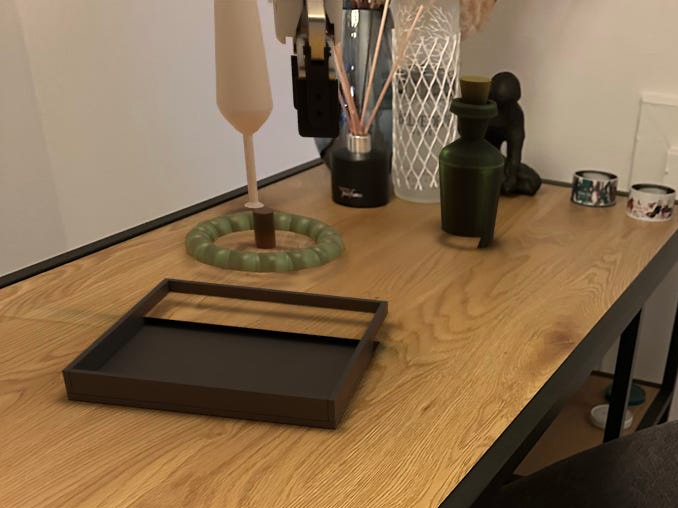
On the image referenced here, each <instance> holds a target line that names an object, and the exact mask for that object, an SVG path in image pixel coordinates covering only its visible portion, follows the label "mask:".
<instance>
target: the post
mask: <svg viewBox="0 0 678 508" xmlns="http://www.w3.org/2000/svg"><path fill="white" fill-rule="evenodd" d="M251 212H252V214H253V225H254V230H253V235H254V236H253V237H254V246H255V248H257V249H260V250H271V249H274V248H276V247H277V236H276V235H277V234H276V230H275V221H274V212H275V210H274V209H272V208H269V207H260V208H252V211H251Z"/></svg>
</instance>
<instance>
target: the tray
mask: <svg viewBox="0 0 678 508" xmlns="http://www.w3.org/2000/svg"><path fill="white" fill-rule="evenodd" d="M169 293H179V294H187V295H199V296H208V297H209V296H210V297H218V298H227V299H237V300H246V301H254V302H255V301H256V302H264V303H265V302H266V303H275V304H284V305H293V306H294V305H295V306H304V307H312V308H321V309H322V308H323V309H331V310H333V309H334V310H341V311H342V310H343V311H349V312H350V311H352V312H361V313H369V314H370V313H371V314H374V315H373V317H372V318H371V320H370V322H369V324H368V325H367V328H366V329H365V331H364V333H363V335H362V336H361V339H360V338H359V339H358V338H349V337H339V336H331V335H321V334H311V333H304V332H303V333H302V332H292V331H284V330H273V329H266V328H264V329H263V328H255V327H247V326H237V325H226V324H218V323H209V322H208V323H207V322H198V321H191V320H190V321H189V320H181V319H170V318H162V317H161V318H160V317H153V316H151V317H150V316H146V315H147V314H148V313H150V311H151V310H152V309H153V308H154V307H155V306H157V305H158V304H159V303H160V302H161V301H162V300H163V299H164V298H165V297H166V296H168V295H169ZM388 313H389V301H388V300H379V299H370V298H360V297H351V296H342V295H341V296H340V295H333V294H322V293H313V292H302V291H293V290H284V289H275V288H265V287H256V286H245V285H236V284H226V283H217V282H207V281H198V280H188V279H179V278H168V277H164V278H163V279H162V280H161V281H160V282H158V283H157V285H155V286H154V287H153V288H152V289H151V290H150V291H149V292H148V293H147V294H145V295H144V296H143V297H142V298H141V299H140V300H139V301H138V302H136V304H134V305H133V306H131V308H130V309H129V310H128V311H126V312H125V313H123V315H122V316H121V317H120V318H119V319H117V321H115V322H114V323H113V324H112V325H111V326H110V327H109V328H107V329H106V330H105V331H104V332H103V333H102V334H101V335H99V337H98V338H96V339H95V340H94V341H93V342H92V343H91V344H89V345H88V346H87V347H86V348H85V349H84V350H83V351H82V352H80V353H79V355H77V356H76V357H75V358H74V359H73V360H72V361H71V362H70V363H69V364H67V365H66V366H65V367H64V368H63V369H62V370H61V373H62V378H63V383H64V386H65V387H64V388H65V391H66V395H67V399H68V400H72V401H82V402H91V403H101V404H109V405H115V406H116V405H117V406H127V407H136V408H145V409H153V410H161V411H162V410H163V411H170V412H181V413H190V414H197V415H206V416H207V415H208V416H214V417H215V416H216V417H217V416H218V417H225V418H235V419H243V420H251V421H263V422H272V423H279V424H288V425H297V426H305V427H306V426H308V427H316V428H324V429H335V430H336V429H337V427H338V425H339V423H340V422H341V419H342V417H343V415H344V413H345V411H346V409H347V408H348V405H349V403H350V401H351V399H352V397H353V396H354V393H355V391H356V390H357V387H358V386H359V384H360V381H361V380H362V378H363V376H364V374H365V372H366V370H367V368H368V366H369V364H370V362H371V360H372V358H373V356H374V354H375V352H376V350H377V349H378V346H379V344H380V341H378V340H375V338H376V336H377V335H378V333H379V330H380V329H381V327H382V324H383V323H384V321H385V319H386V318H387V315H388Z"/></svg>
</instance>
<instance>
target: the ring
mask: <svg viewBox="0 0 678 508" xmlns="http://www.w3.org/2000/svg"><path fill="white" fill-rule="evenodd" d="M274 221H275V231H282V232H290V233H295V234H299V235H303V236H306V237H307V238H309V239H311V240H313V241H315V242H316V244H313V245H310V246H308V247H306V248H300V249H294V250H288V251H275V252H273V251H272V252H271V251H270V252H269V251H268V252H267V251H266V252H257V251H245V250H238V249H237V250H236V249H231V248H228V247H227V248H226V247H223V246H220V245H217V244H215V242H216V241H217V240H218V239H219V238H221V237H225V236H227V235H230V234H233V233H239V232H246V231H254V225H253V214H252V211H243V212H236V213H230V214H223V215H222V214H221V215H218V216H214V217H211V218H209V219H206V220H203V221H199V223H197V224H196V225H195V226H194V227H193V228H191V229H190V230H189V231H188V232H187V233H186V235H185V237H184V245H185V251H186V254H187V255H189V257H190V256H191V257H192V258H193V259H195V260H196V261H198V262H200V263H201V264H206V265H209V266H212V267H215V268H219V269H222V270H227V271H239V272H246V273H247V272H248V273H257V274H259V273H260V274H261V273H287V272H296V271H303V270H309V269H312V268H318V267H322V266H324V265H326V264H329V263H331V262H333V261H336V260H337V259H339V258H340V257H341V256H342V254H343V253H344V252H345V250H346V245H345V242H344V239H343V238H342V236H341V234H340V232H339V231H338V230H337V229H336V228H335V227H334V226H331V225H330V224H328V223H326V222H324V221H322V220H320V219H318V218H314V217H309V216H305V215H301V214H297V213H289V212H288V213H286V212H277V211H274Z"/></svg>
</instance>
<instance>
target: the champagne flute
mask: <svg viewBox="0 0 678 508" xmlns="http://www.w3.org/2000/svg"><path fill="white" fill-rule="evenodd" d="M213 13H214V15H213V16H214V17H213V18H214V19H213V21H214V56H215V57H214V58H215V97H216V98H215V100H216V101H215V103H216V106H217V109H218V110H219V112H220V114H221V115H222V116H223V118H224V120H226V121H227V122H228V123H229V124H230V125H231V127H233V128H234V129H235V130H236V131H237V132H239V133H240V134H242V140H243V141H242V142H243V151H244V152H243V153H244V161H245V173H246V184H247V185H246V186H247V194H248V201H247V202H246V203H244V207H246V208H249V209H255V208H264V206H265V205H264V204H263V203H262V202H260V201H259V194H258V183H257V182H258V181H257V171H256V157H255V148H254V147H255V146H254V136H253V135H254V134H255V133H256V132H258V131H260V129H261V128H262V126H264V125H265V123H266V122H267V121H268V119H269V117H270V115H271V114H272V112H273V108H274V101H273V94H272V88H271V83H270V75H269V68H268V63H267V56H266V55H267V54H266V48H265V43H264V36H263V29H262V23H261V15H260V9H259V4H258V0H213Z"/></svg>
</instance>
